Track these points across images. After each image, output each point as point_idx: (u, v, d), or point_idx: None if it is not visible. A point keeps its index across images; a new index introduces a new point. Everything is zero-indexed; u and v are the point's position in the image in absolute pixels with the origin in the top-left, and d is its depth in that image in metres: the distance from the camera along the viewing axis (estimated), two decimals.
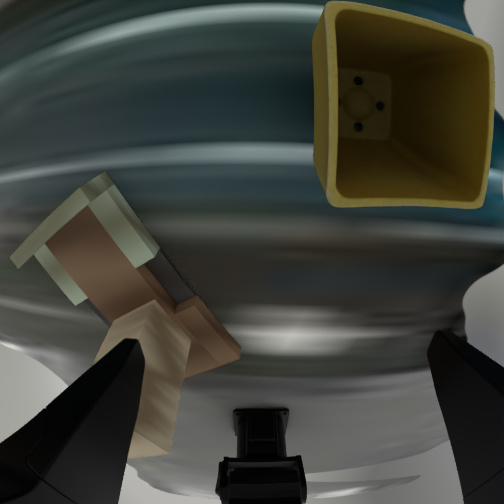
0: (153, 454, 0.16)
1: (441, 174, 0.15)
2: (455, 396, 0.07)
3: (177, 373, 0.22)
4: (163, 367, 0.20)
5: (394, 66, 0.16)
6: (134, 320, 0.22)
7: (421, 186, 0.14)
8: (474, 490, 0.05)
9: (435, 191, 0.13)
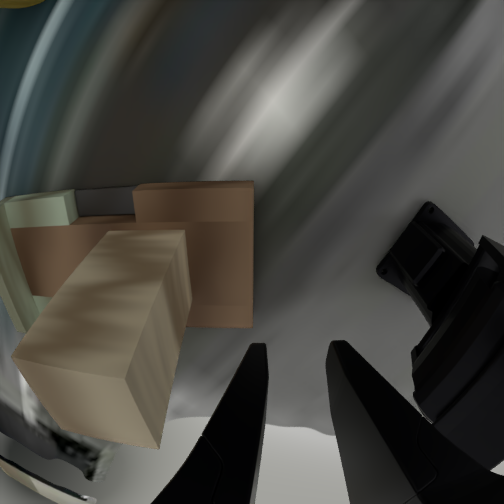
0: (129, 402, 0.09)
1: None
2: (343, 418, 0.07)
3: (152, 267, 0.14)
4: (121, 273, 0.14)
5: None
6: None
7: None
8: None
9: None
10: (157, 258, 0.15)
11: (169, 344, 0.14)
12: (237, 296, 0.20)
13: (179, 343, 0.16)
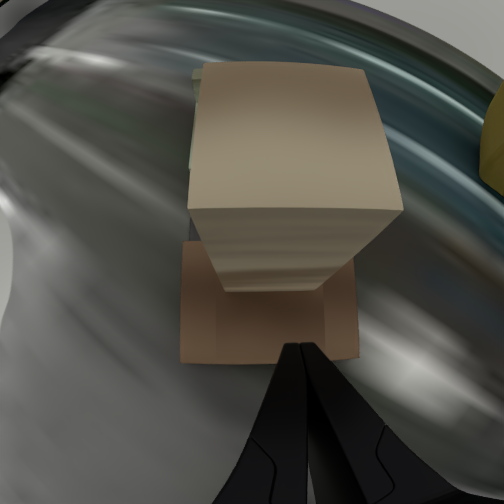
0: (351, 199, 0.07)
1: None
2: (308, 422, 0.07)
3: None
4: None
5: None
6: None
7: None
8: None
9: None
10: None
11: (263, 263, 0.11)
12: (229, 346, 0.16)
13: (225, 273, 0.13)
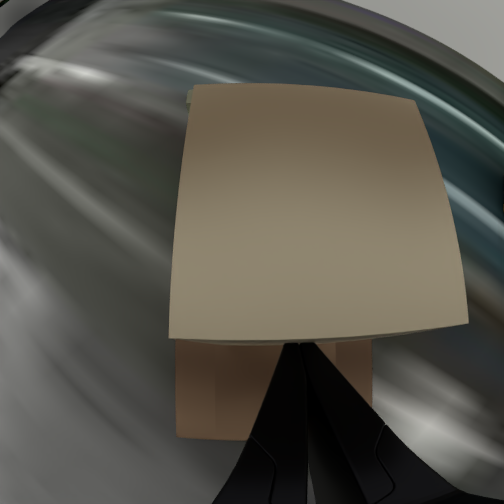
0: (407, 317, 0.04)
1: None
2: (308, 422, 0.07)
3: None
4: None
5: None
6: None
7: None
8: None
9: None
10: None
11: None
12: (230, 422, 0.14)
13: None
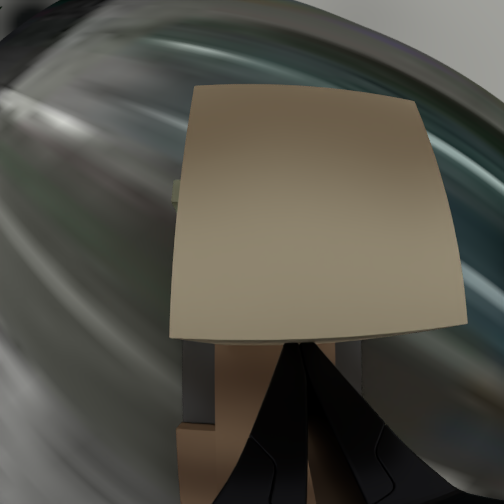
0: (406, 318, 0.04)
1: None
2: (308, 422, 0.07)
3: None
4: None
5: None
6: None
7: None
8: None
9: None
10: None
11: None
12: None
13: None
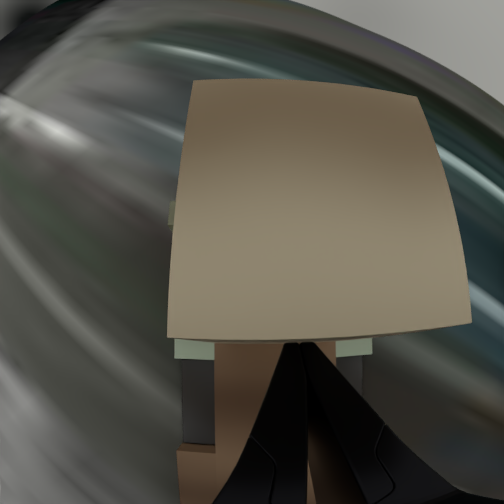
0: (410, 317, 0.04)
1: None
2: (308, 422, 0.07)
3: None
4: None
5: None
6: None
7: None
8: None
9: None
10: None
11: None
12: None
13: None
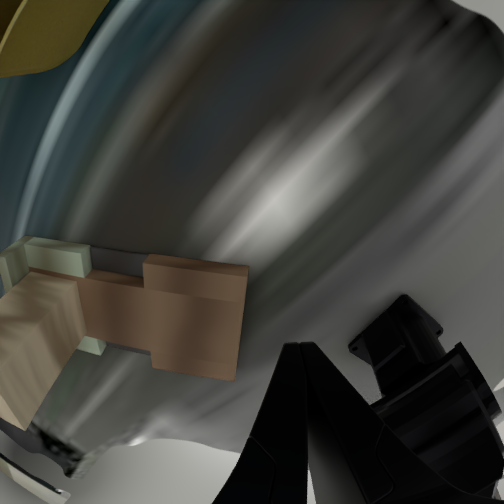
0: None
1: None
2: (308, 422, 0.07)
3: (38, 311, 0.17)
4: (20, 311, 0.16)
5: None
6: None
7: None
8: None
9: None
10: (45, 304, 0.18)
11: (45, 365, 0.16)
12: (224, 356, 0.23)
13: (61, 365, 0.19)
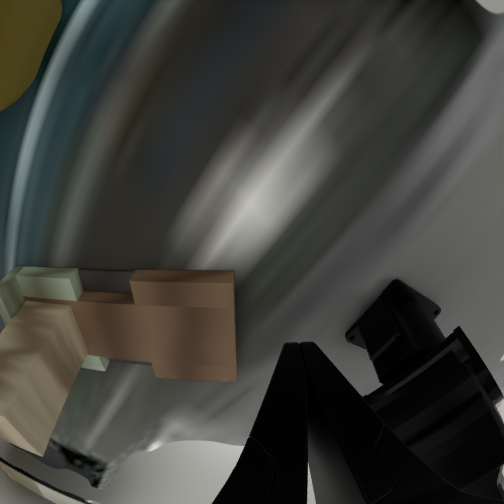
0: (13, 427, 0.12)
1: None
2: (308, 422, 0.07)
3: (37, 341, 0.17)
4: (20, 343, 0.16)
5: None
6: None
7: None
8: None
9: None
10: (43, 333, 0.18)
11: (52, 391, 0.17)
12: (223, 359, 0.23)
13: (68, 387, 0.19)
